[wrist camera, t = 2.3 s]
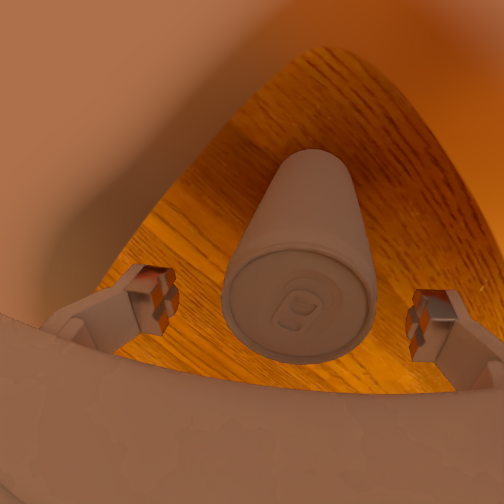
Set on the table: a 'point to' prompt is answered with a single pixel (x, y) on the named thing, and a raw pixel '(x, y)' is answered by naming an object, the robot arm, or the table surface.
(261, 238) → the beverage can
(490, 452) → the robot arm
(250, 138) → the table surface
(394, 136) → the table surface
